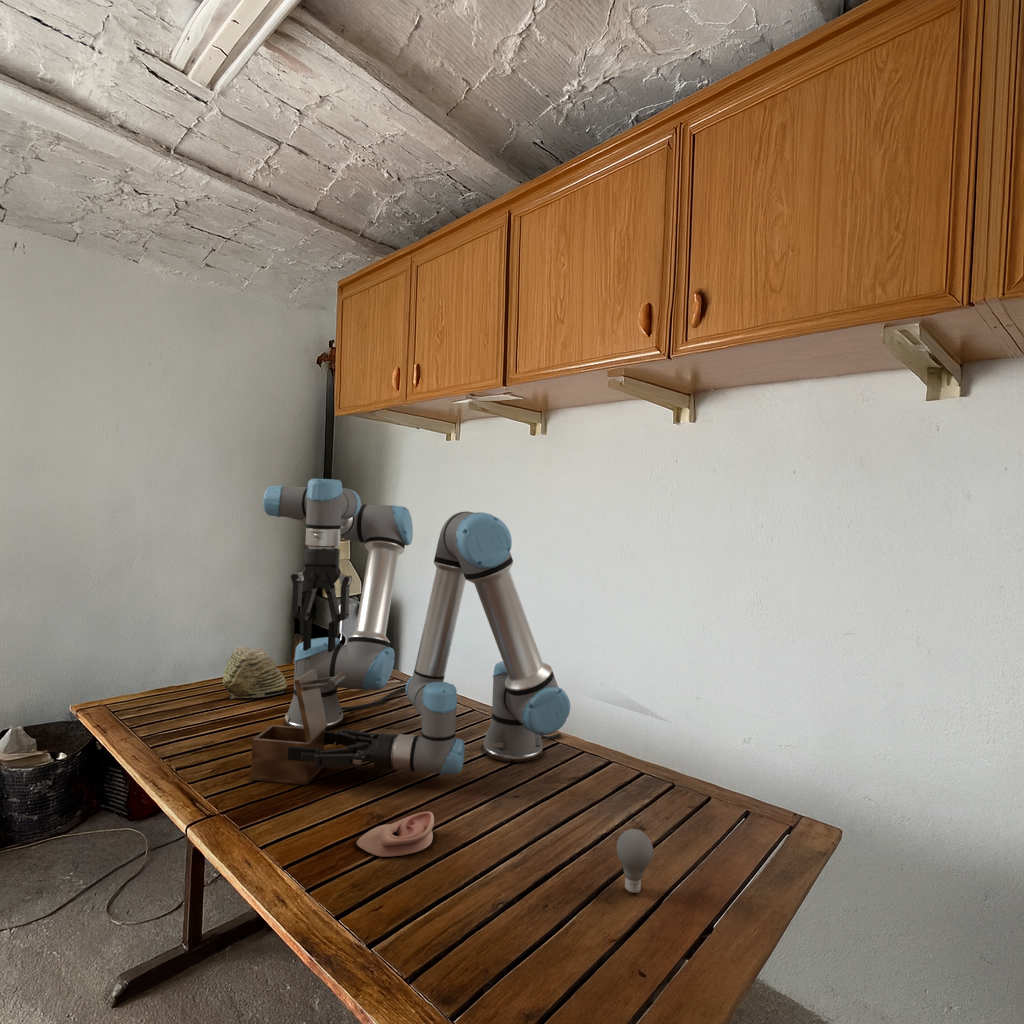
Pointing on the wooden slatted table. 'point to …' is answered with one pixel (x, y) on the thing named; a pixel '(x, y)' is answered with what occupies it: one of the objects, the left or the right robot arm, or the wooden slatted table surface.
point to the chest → (283, 755)
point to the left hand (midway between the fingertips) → (319, 649)
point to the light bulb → (634, 857)
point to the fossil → (252, 674)
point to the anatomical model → (399, 836)
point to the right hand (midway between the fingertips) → (298, 744)
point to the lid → (313, 701)
